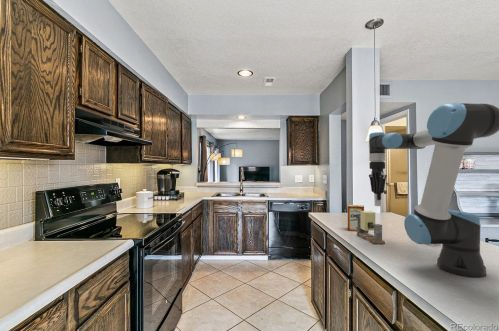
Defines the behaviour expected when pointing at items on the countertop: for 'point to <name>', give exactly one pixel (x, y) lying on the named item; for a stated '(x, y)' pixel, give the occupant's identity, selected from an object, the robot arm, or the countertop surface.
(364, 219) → the pale yellow block
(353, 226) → the baking soda box
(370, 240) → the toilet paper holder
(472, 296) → the countertop surface
